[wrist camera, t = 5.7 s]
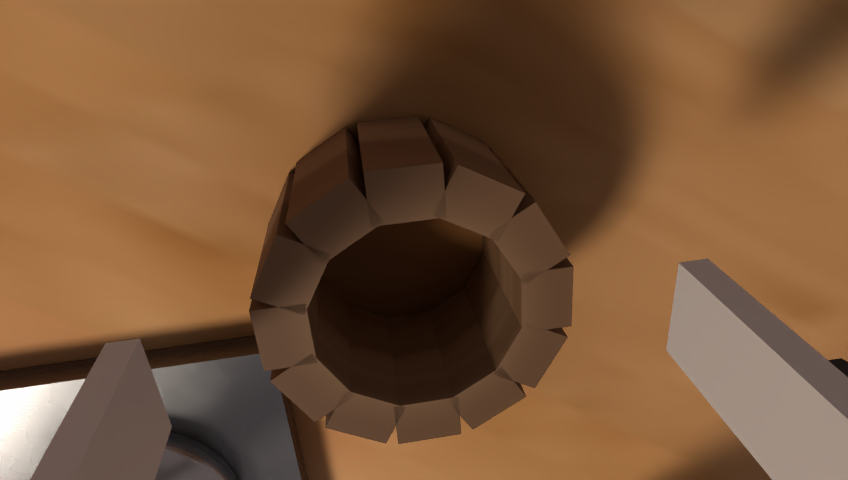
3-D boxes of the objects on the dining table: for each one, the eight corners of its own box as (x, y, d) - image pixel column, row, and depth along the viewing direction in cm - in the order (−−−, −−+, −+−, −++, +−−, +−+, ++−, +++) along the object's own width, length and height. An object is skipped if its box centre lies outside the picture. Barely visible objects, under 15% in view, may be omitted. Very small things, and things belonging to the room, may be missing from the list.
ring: (246, 134, 19) (219, 189, 14) (522, 104, 20) (577, 146, 15) (295, 363, 23) (285, 462, 18) (523, 330, 24) (568, 416, 19)
